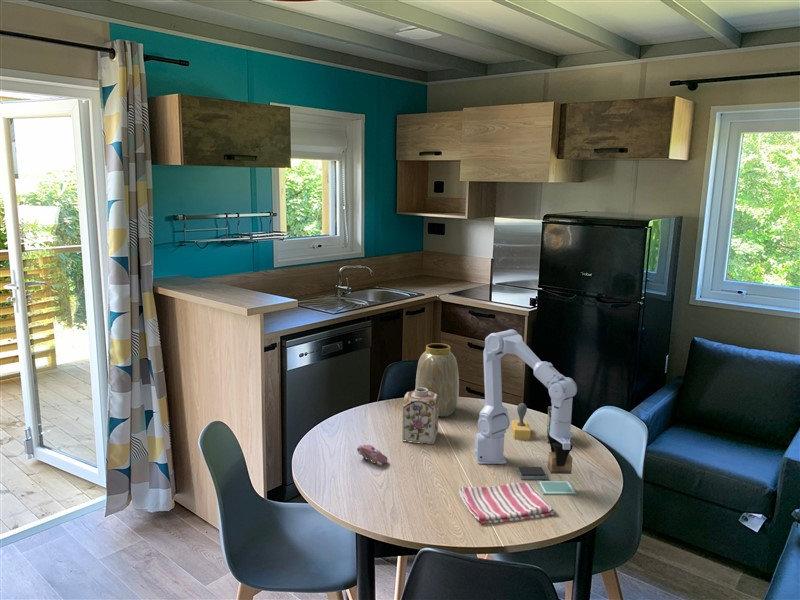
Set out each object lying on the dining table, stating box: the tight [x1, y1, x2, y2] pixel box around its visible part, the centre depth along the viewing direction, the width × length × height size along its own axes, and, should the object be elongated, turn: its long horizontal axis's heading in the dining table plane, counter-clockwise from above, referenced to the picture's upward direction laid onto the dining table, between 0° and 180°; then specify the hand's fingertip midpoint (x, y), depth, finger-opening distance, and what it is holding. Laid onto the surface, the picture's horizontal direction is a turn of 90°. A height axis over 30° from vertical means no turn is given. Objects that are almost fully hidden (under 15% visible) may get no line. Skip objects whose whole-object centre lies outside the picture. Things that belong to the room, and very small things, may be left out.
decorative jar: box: [401, 387, 439, 445], centre depth 219 cm, size 12×12×18 cm
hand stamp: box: [547, 451, 573, 475], centre depth 183 cm, size 6×4×7 cm, turn 91°
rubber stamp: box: [510, 402, 532, 441], centre depth 224 cm, size 10×6×12 cm, turn 176°
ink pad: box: [516, 466, 548, 481], centre depth 192 cm, size 8×6×2 cm
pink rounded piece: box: [356, 443, 388, 464], centre depth 200 cm, size 10×5×7 cm, turn 48°
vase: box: [415, 342, 460, 417], centre depth 244 cm, size 17×17×27 cm
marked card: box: [536, 480, 578, 496], centre depth 184 cm, size 10×8×1 cm
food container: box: [546, 406, 552, 444], centre depth 220 cm, size 12×6×10 cm, turn 168°
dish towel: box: [458, 482, 557, 525], centre depth 174 cm, size 17×23×4 cm
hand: (558, 462), depth 183 cm, fingers closed on hand stamp, 4 cm apart
